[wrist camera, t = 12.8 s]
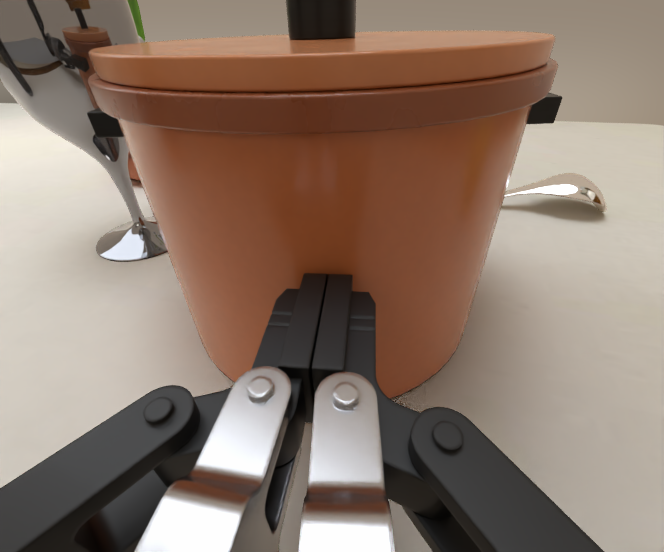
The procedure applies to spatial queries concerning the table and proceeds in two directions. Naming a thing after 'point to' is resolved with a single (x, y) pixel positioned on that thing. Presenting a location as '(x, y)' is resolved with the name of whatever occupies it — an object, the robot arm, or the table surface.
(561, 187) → the silver elongated piece
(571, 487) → the table surface
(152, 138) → the copper pot
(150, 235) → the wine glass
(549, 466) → the table surface
